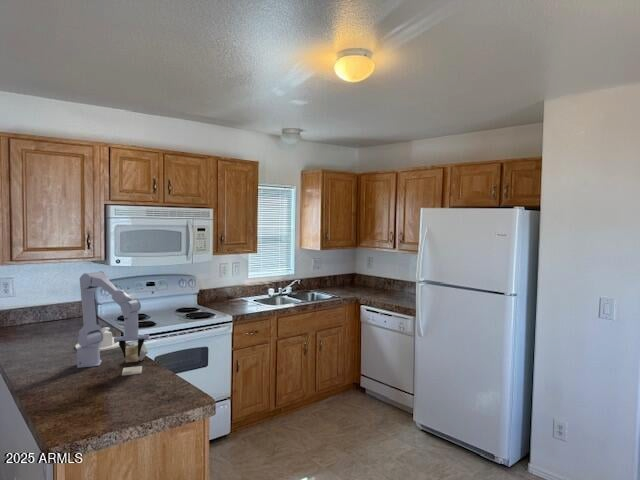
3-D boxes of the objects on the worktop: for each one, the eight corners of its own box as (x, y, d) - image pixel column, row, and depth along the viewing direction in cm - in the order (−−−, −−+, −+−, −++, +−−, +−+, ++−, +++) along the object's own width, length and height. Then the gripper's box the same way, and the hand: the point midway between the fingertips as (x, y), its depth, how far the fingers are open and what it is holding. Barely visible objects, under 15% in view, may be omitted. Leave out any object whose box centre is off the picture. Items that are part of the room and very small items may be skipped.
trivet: (121, 375, 196) (121, 373, 196) (123, 369, 204) (123, 367, 204) (141, 373, 199) (141, 371, 199) (142, 367, 206) (142, 365, 206)
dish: (127, 348, 237) (126, 327, 237) (73, 354, 227) (73, 332, 226) (125, 337, 260) (124, 318, 259) (76, 342, 249) (75, 322, 248)
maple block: (125, 362, 198) (125, 349, 197) (126, 359, 202) (126, 346, 202) (137, 361, 199) (137, 348, 199) (138, 357, 204) (138, 345, 204)
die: (134, 365, 211) (147, 347, 214) (119, 355, 213) (133, 337, 215) (141, 366, 219) (154, 348, 222) (127, 356, 221) (139, 338, 223)
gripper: (112, 330, 194) (113, 360, 195) (148, 327, 199) (148, 357, 199) (114, 326, 201) (115, 356, 201) (148, 323, 205) (149, 352, 206)
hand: (132, 356), depth 201 cm, fingers closed on maple block, 5 cm apart
